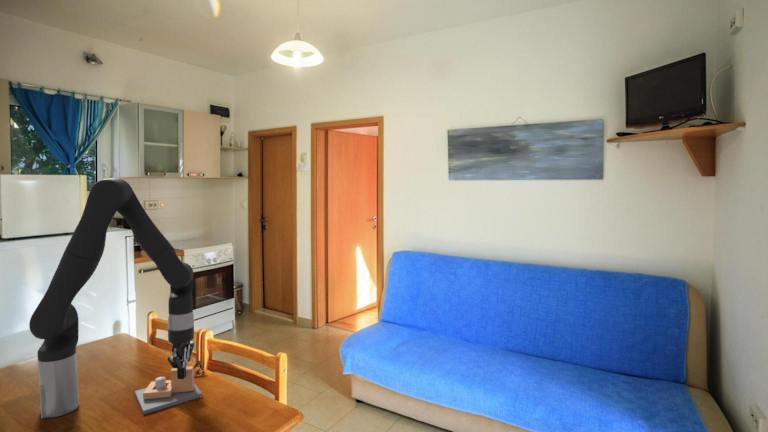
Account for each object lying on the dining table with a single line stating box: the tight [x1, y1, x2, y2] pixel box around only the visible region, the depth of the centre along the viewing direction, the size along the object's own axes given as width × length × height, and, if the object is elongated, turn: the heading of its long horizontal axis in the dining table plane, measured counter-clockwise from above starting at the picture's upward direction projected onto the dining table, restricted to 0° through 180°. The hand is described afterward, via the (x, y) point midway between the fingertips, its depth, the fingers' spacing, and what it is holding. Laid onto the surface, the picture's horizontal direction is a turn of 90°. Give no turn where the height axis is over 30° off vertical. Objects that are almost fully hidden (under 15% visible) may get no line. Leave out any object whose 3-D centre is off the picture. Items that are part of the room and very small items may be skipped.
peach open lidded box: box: [143, 365, 195, 399], centre depth 139 cm, size 14×8×8 cm, turn 101°
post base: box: [134, 376, 203, 415], centre depth 139 cm, size 17×15×6 cm
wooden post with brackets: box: [193, 359, 205, 373], centre depth 154 cm, size 2×8×4 cm, turn 147°
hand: (181, 378), depth 136 cm, fingers closed
